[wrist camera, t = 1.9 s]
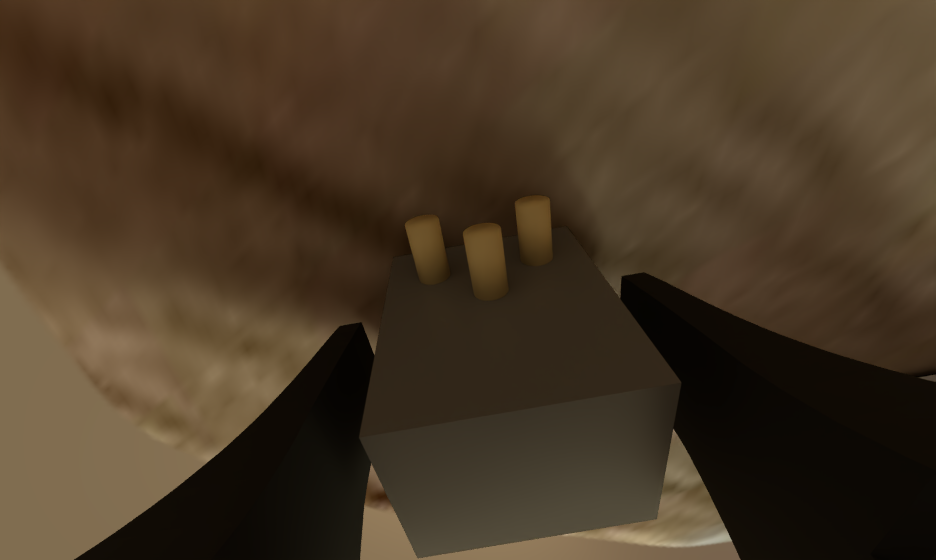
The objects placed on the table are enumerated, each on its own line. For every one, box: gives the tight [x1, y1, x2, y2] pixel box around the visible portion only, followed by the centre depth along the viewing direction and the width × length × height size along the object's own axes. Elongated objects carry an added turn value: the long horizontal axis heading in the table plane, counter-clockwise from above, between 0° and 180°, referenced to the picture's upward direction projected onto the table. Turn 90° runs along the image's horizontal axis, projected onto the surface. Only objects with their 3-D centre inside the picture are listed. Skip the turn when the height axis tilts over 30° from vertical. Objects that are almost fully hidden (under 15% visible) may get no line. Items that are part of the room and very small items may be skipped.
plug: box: [359, 195, 681, 558], centre depth 9 cm, size 6×5×6 cm
